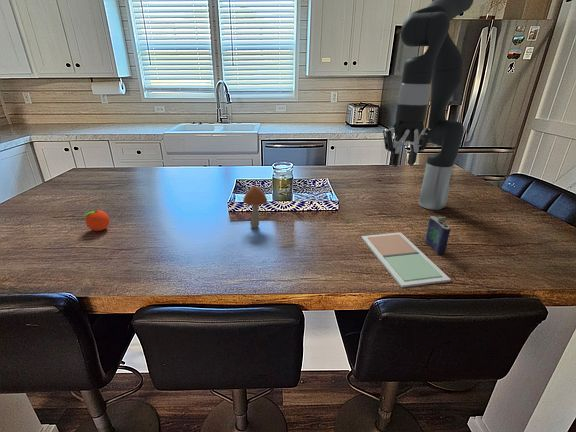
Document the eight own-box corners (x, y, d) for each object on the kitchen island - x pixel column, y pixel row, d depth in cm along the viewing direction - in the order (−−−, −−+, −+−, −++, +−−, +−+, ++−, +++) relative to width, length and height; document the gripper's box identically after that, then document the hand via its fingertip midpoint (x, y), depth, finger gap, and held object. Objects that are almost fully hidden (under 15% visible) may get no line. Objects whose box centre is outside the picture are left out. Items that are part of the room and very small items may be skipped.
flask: (422, 240, 102) (429, 210, 97) (430, 240, 102) (438, 210, 98) (438, 256, 94) (446, 224, 89) (447, 255, 94) (456, 223, 90)
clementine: (84, 237, 103) (78, 217, 100) (85, 228, 109) (79, 209, 106) (112, 231, 106) (106, 212, 103) (111, 223, 112) (106, 205, 109)
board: (400, 234, 106) (401, 231, 106) (450, 281, 83) (451, 278, 82) (361, 237, 104) (361, 235, 103) (401, 287, 81) (401, 284, 80)
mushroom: (271, 223, 113) (270, 183, 106) (262, 233, 106) (260, 191, 99) (250, 220, 115) (248, 180, 108) (240, 229, 108) (238, 188, 102)
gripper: (429, 100, 88) (417, 160, 95) (381, 101, 85) (373, 162, 93) (446, 103, 81) (432, 167, 88) (394, 104, 79) (385, 170, 86)
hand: (402, 164), depth 90 cm, fingers open, 4 cm apart
